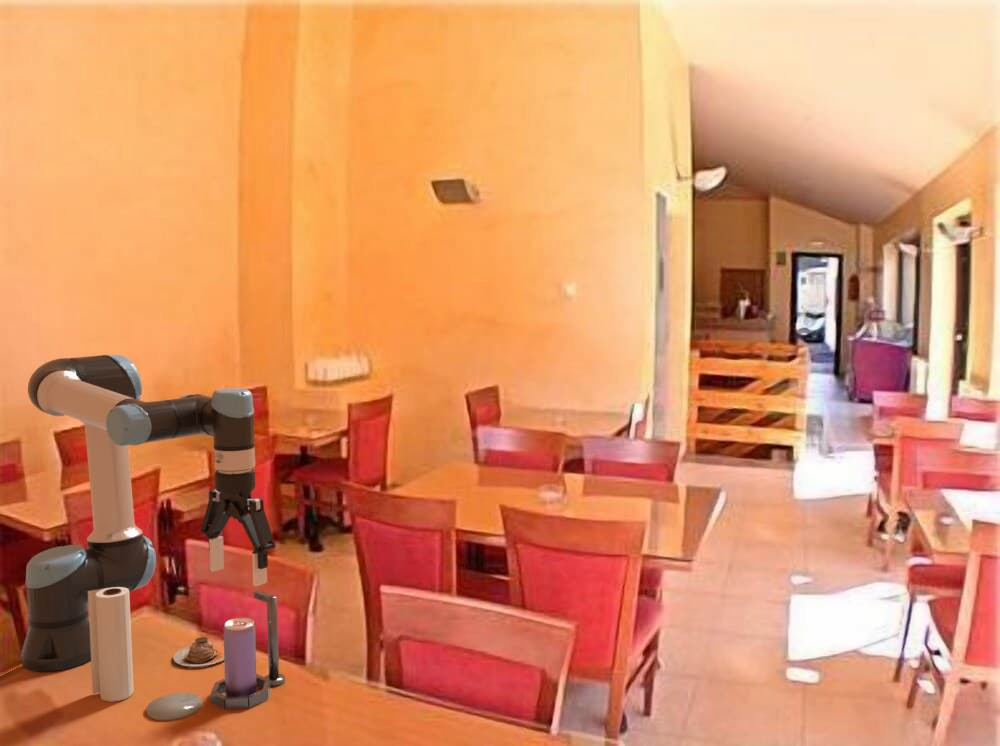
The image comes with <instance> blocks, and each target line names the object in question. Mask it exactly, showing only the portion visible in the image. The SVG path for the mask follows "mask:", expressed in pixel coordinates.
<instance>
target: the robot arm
mask: <svg viewBox="0 0 1000 746" xmlns="http://www.w3.org/2000/svg"><path fill="white" fill-rule="evenodd" d="M27 384H28V385H27V395H28V397H29V400H30V402H31V403H32V404H33V405H34V407H35V408H36V409H38V410H39V411H40V412H43V413H44V414H45V413H46V414H48V415H51V416H53V417H64V416H68V417H70V418H73V419H75V420H78V421H80V422H81V423H82V424H83V425H84V428H85V441H86V442H85V443H86V454H87V455H86V456H87V465H88V478H89V488H90V500H91V501H90V502H91V503H90V504H91V512H92V525H93V530H92V532H91V533H90V534H89V535H88V536H87V538H86V541H87V543H86V544H87V548H84V547H83V545H78V544H67V545H64V546H62V545H60V546H55V547H51V548H48V549H46V550H43V551H41V552H39V553H37V554H36V555H34V556H32V557H31V559H30V560H29V561H28V562H27V564H26V568H25V569H26V570H25V572H26V573H25V581H24V582H25V583H24V584H25V585H26V601H27V614H28V616H27V617H28V629H27V632H26V636H25V639H24V643H23V647H22V650H21V655H20V659H21V666H22V667H23V668H24V669H26V670H29V671H32V672H55V671H64V670H68V669H72V668H75V667H78V666H81V665H84V664H87V663H88V662H90V661H91V646H90V626H89V606H88V591H93V590H99V589H103V588H112V587H124V588H128V590H129V593H131V592H133V591H135V590H137V589H141V588H143V587H145V586H146V585H148V583H149V582H150V581H151V579H152V578H153V576H154V573H155V571H156V564H157V560H156V559H157V558H156V551H155V548H154V547H153V543H152V541H151V540H150V539H149V538H148V537H146V536H145V535H144V534H143V530H142V529H141V528H139V526H137V525H136V524H135V513H134V512H135V511H134V510H135V509H134V500H133V488H132V475H131V474H132V473H131V465H130V464H131V463H130V452H129V451H130V450H129V449H130V448H129V446H138V445H142V444H147V443H155V442H160V441H165V440H171V439H172V440H173V439H178V438H185V437H186V438H187V437H191V436H199V435H205V436H211V437H213V451H214V452H213V453H214V455H213V459H214V461H213V462H214V469H215V470H216V471H215V473H214V488H215V489H212V490H209V492H208V503H207V507H206V510H205V513H204V518H203V520H202V524H201V528H200V533H201V534H205V536H206V538H207V539H208V552H209V571H210V572H212V573H214V572H217V571H219V570H220V571H221V570H223V569H225V559H224V558H225V553H224V551H225V550H224V536H222V535H224V533H223V530H224V529H225V527H226V525H227V523H228V522H229V520H230V518H233V519H234V520H237V521H238V523H239V524H241V526H243V528H244V531H245V533H246V535H247V536H248V537H247V538H248V539H249V540H250V543H251V545H252V547H253V549H254V550H253V551H251V557H252V558H251V559H252V585H253V587H259V586H260V585H264V584H268V566H269V563H268V562H269V559H268V552H269V551H270V550H273V549H275V548H276V543H275V540H274V536H273V533H272V531H271V528H270V523H269V521H268V517H267V514H266V512H265V505H264V500H263V498H262V497H258V498H253V496H252V491H253V490H254V489H256V471H255V469H254V468H255V466H256V454H255V453H256V450H255V449H256V448H255V415H254V414H255V408H254V399H253V393H252V392H251V390H248V389H246V388H237V387H236V388H222V389H217V390H214V391H213V393H212V396H207V395H203V394H201V393H199V394H198V393H194V394H192V393H191V394H189V393H188V394H184V395H182V396H181V397H179V398H174V399H172V398H171V399H163V400H156V401H143V400H141V395H142V394H143V384H142V379H141V374H140V373H139V370H138V368H137V366H136V365H135V364H134V363H133V362H132V360H131V359H130V358H128V357H126V356H124V355H121V354H102V355H101V354H100V355H92V356H91V355H90V356H82V357H77V356H76V357H69V358H68V357H66V358H65V357H64V358H62V357H61V358H57V359H56V358H55V359H52V360H49V361H47V362H45V363H43V364H41V365H40V366H38V367H37V368H36V370H35V371H34V372H33V373H32V374H31V376H30V378H29V381H28V383H27Z"/></svg>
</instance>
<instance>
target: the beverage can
mask: <svg viewBox="0 0 1000 746" xmlns="http://www.w3.org/2000/svg"><path fill="white" fill-rule="evenodd" d="M223 626H224V627H223V631H222V632H223V645H224V660H223V661H224V679H225V691H224V692H225V696H226V697H240V696H249V695H251V694H253V693H256V692H258V687H257V677H256V674H257V653H256V652H257V645H256V641H257V640H256V626H255V621H254V620H253V619H252V618H249V617H237V618H236V617H235V618H232V619H229V620H227V621H226V622H225V623H224V625H223Z"/></svg>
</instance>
